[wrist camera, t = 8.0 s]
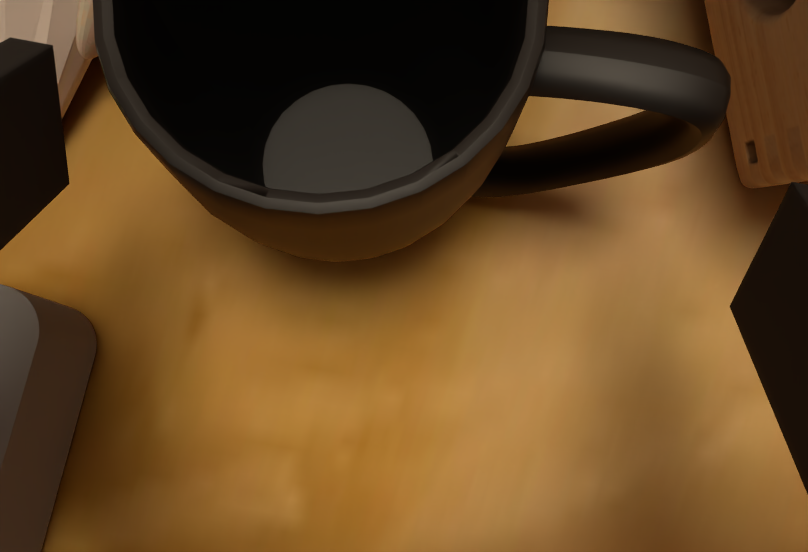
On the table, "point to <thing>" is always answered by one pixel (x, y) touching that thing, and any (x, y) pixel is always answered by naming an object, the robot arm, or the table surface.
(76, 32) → the decorative bird
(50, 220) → the table surface
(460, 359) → the table surface
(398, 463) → the table surface
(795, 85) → the pounding toy
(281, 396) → the table surface
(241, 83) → the mug
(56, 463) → the bracket
